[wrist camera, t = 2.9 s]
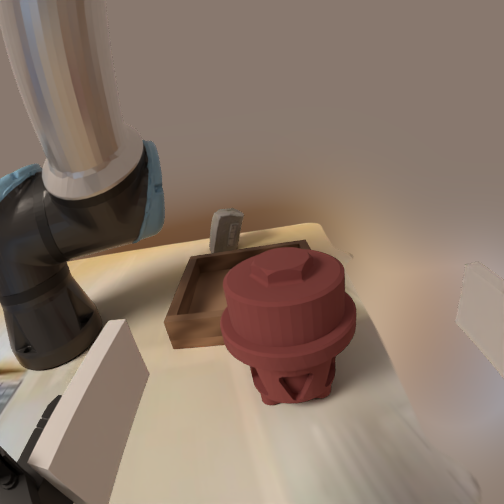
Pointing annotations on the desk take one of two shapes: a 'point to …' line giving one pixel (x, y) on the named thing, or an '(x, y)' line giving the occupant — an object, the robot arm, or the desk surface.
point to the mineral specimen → (225, 230)
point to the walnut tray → (207, 296)
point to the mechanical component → (288, 321)
